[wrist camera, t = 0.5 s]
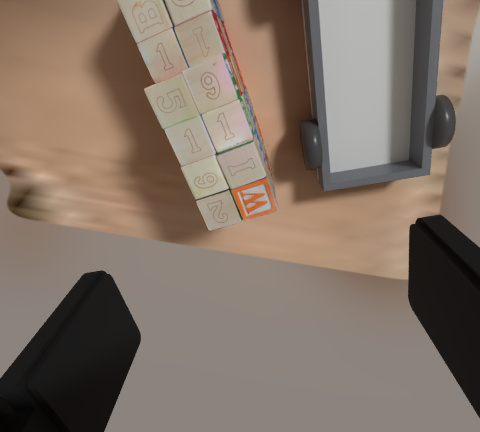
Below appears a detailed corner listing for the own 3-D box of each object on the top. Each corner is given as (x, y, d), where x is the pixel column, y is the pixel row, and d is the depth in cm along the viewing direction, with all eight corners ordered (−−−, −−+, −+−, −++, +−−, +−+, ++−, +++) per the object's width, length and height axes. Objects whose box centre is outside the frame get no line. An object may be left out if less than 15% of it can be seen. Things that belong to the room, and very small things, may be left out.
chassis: (273, -109, 26) (277, -144, 21) (447, -159, 24) (490, -208, 20) (305, 180, 37) (312, 197, 32) (425, 160, 35) (450, 175, 31)
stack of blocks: (138, -24, 29) (65, -75, 18) (200, -54, 28) (163, -129, 17) (222, 182, 38) (208, 234, 27) (272, 166, 36) (279, 213, 25)
